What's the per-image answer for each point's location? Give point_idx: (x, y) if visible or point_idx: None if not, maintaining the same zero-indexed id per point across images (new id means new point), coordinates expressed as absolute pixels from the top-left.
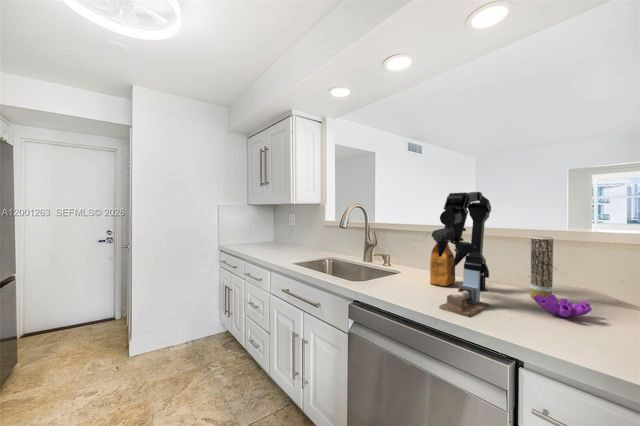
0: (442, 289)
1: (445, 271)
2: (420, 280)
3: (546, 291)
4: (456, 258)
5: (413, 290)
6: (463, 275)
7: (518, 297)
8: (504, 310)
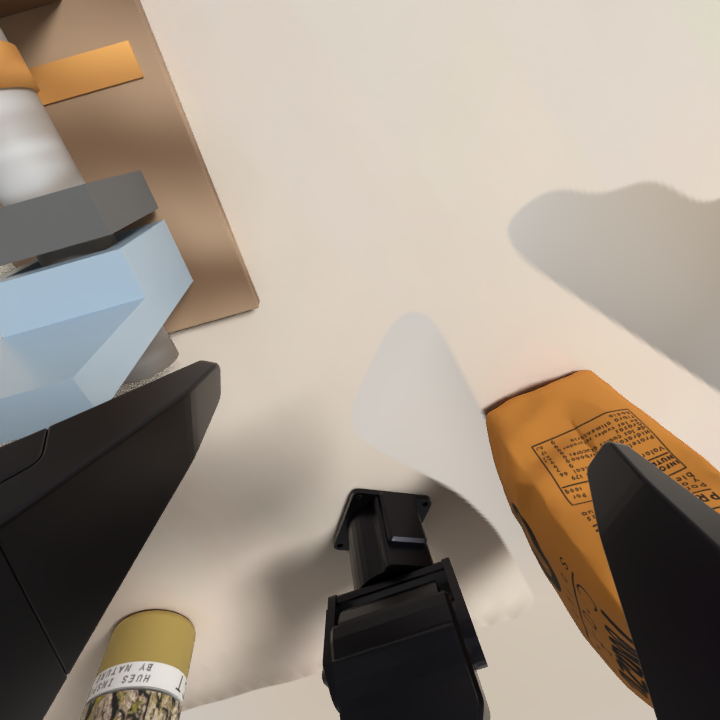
0: (474, 358)
1: (546, 481)
2: (678, 378)
3: (96, 677)
4: (60, 428)
5: (582, 123)
6: (108, 336)
7: (206, 581)
8: None
